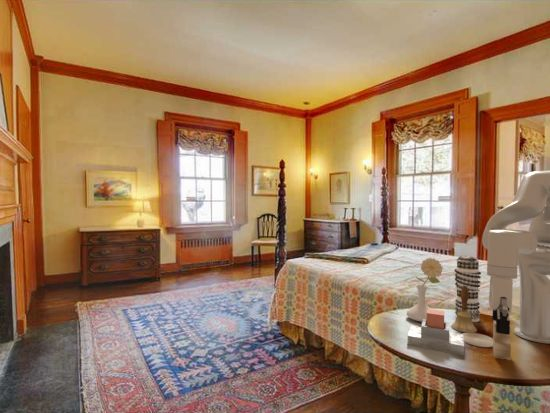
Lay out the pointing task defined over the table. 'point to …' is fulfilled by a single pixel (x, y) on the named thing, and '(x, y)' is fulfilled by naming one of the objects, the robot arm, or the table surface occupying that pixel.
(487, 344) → the coaster
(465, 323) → the hand bell
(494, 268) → the robot arm
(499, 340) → the pale wood brick
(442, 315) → the button
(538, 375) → the table surface
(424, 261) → the flower in vase
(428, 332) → the base
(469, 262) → the decorative candle
